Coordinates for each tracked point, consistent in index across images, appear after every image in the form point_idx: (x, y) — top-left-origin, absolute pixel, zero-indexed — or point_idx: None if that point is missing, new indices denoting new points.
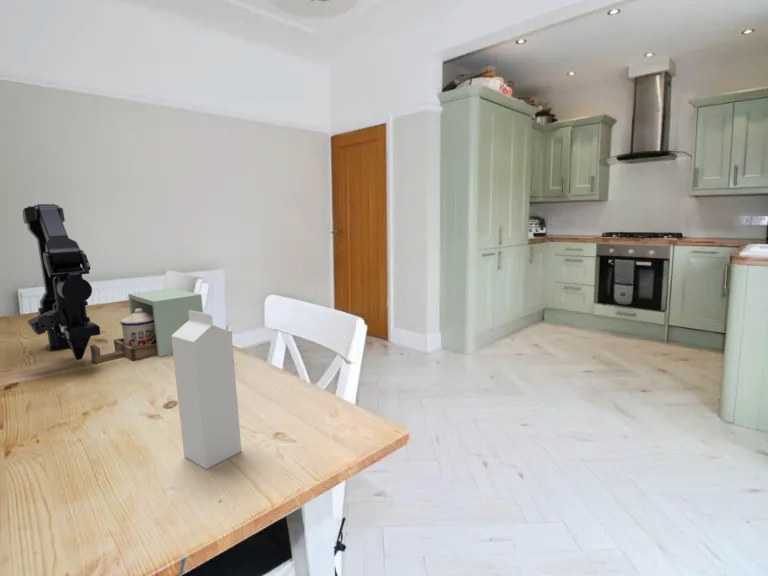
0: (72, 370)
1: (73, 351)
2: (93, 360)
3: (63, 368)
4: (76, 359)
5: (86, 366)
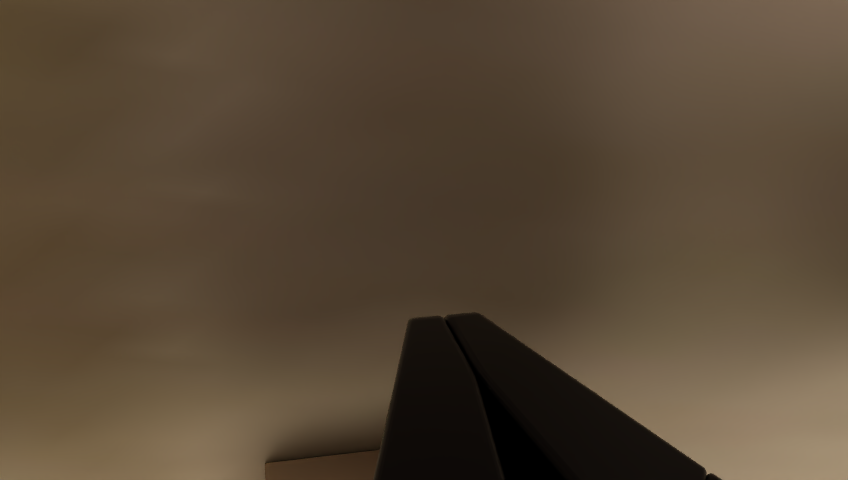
0: (170, 133)
1: (445, 435)
2: None
3: (476, 39)
4: (416, 319)
5: (250, 341)
